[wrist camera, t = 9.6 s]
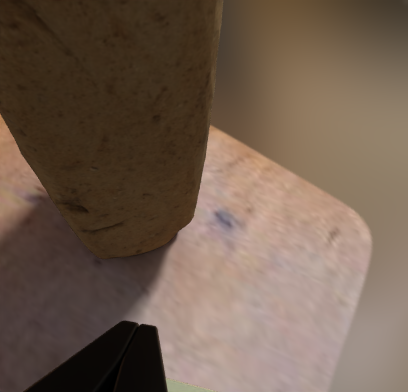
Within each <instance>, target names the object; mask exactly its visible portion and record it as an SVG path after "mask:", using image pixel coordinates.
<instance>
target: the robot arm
mask: <svg viewBox="0 0 408 392" xmlns="http://www.w3.org/2000/svg"><path fill="white" fill-rule="evenodd" d="M23 392H168V389H167V383H166V377H165V371H164V365H163V359H162V353H161V347H160V341H159V335H158V329H157V327H156V326H152V325H146V324H141V325H140V326H139V324H138V323H136V322H130V321H121V322H119V323H118V324H117V325H115V326H114V327H112V328H111V329H110V330H108V331H107V332H105V333H104V334H103V335H101V336H100V337H98V338H97V339H96V340H94V341H93V342H92V343H90V344H89V345H87V346H86V347H85V348H83V349H82V350H80V351H79V352H78V353H76V354H75V355H73V356H72V357H71V358H69V359H68V360H66V361H65V362H64V363H62V364H61V365H60V366H58V367H57V368H55V369H54V370H53V371H51V372H50V373H48V374H47V375H46V376H44V377H43V378H41V379H40V380H39V381H37V382H36V383H34V384H33V385H32V386H30V387H29V388H28V389H26V390H25V391H23Z"/></svg>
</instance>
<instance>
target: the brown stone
mask: <svg viewBox="0 0 408 392" xmlns="http://www.w3.org/2000/svg"><path fill="white" fill-rule="evenodd" d="M222 8H223V0H0V114H1V116H2V117H3V119H4V121H5V123H6V125H7V126H8V128H9V130H10V132H11V134H12V135H13V137H14V139H15V141H16V143H17V145H18V147H19V150H20V152H21V154H22V156H23V157H24V158H25V160H26V161H27V163H28V164H29V165H30V167H31V168H32V170H33V171H34V172H35V174H36V175H37V177H38V179H39V180H40V182H41V183H42V185H43V186H44V188H45V189H46V191H47V192H48V194H49V196H50V198H51V199H52V201H53V202H54V203H55V205H56V206H57V208H58V209H59V211H60V212H61V214H62V216H63V217H64V218H65V220H66V221H67V222H68V224H69V225H70V227H71V228H72V230H73V231H74V232H75V234H76V235H77V236H78V237H79V238H80V240H81V241H82V242H83V243H84V244H85V246H86V247H87V248H88V249H89V250H90V251H91V252H92V253H93V254H94V255H96V256H97V257H99V258H101V259H109V258H116V257H127V256H132V255H136V254H141V253H145V252H148V251H151V250H154V249H156V248H158V247H160V246H163V245H164V244H166V243H168V242H169V241H170V240H171V239H172V238H173V237H174V235H175V234H176V233H177V232H178V231H179V230H181V229H182V228H183V227H185V226H186V225H187V224H189V223H190V222H191V220H192V218H193V217H194V212H195V208H196V204H197V198H198V193H199V189H200V183H201V178H202V171H203V166H204V162H205V157H206V149H207V141H208V134H209V127H210V118H211V108H212V101H213V96H214V88H215V75H216V62H217V52H218V44H219V36H220V28H221V20H222Z"/></svg>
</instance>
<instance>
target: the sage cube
mask: <svg viewBox="0 0 408 392" xmlns="http://www.w3.org/2000/svg"><path fill="white" fill-rule="evenodd" d="M166 383H167V389H168V392H217V391H213V390H209V389H206V388H202V387H198V386H195V385H191V384H187V383H184V382H180V381H176V380H172V379H169V378H166Z"/></svg>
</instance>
